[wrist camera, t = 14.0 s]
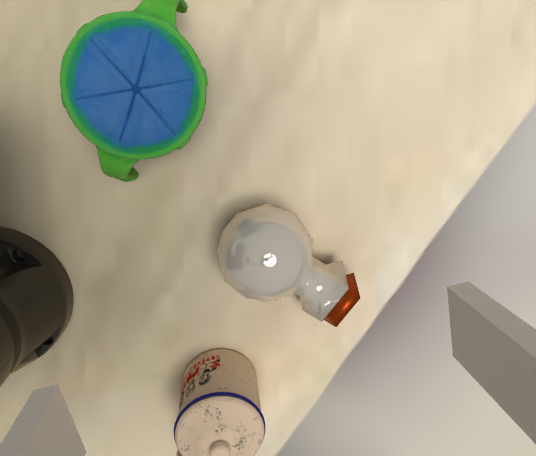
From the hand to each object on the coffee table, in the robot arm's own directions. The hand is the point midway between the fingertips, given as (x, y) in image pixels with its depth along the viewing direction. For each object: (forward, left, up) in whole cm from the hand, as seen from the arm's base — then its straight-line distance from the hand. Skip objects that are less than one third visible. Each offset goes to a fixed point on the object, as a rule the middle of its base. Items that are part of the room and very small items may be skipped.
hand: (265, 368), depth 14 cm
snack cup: (-6, +10, -32) cm, 35 cm away
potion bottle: (+4, -8, -32) cm, 34 cm away
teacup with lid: (-6, -24, -32) cm, 41 cm away
